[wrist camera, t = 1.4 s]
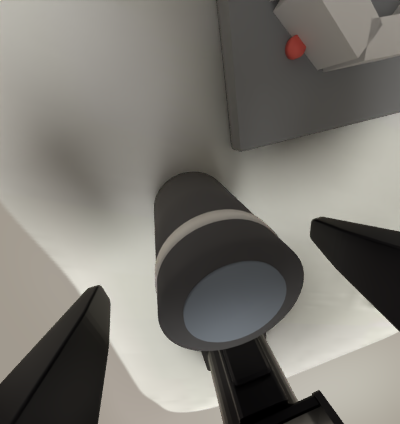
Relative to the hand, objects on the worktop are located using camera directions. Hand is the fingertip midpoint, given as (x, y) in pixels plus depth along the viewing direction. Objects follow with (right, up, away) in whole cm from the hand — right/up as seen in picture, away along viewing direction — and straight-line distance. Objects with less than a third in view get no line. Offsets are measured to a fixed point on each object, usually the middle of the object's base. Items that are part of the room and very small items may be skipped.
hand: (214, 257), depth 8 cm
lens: (-1, +2, +4) cm, 5 cm away
